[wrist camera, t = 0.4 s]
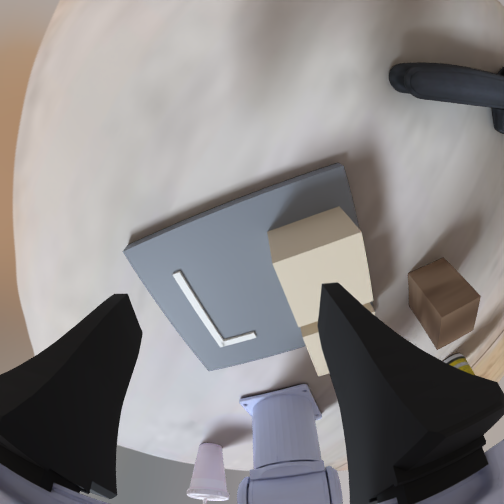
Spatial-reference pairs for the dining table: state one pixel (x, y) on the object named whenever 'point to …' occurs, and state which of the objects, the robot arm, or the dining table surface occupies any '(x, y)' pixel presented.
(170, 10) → the dining table surface
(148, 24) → the dining table surface
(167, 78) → the dining table surface
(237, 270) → the board
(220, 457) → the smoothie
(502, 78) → the can opener
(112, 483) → the robot arm
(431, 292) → the walnut block
